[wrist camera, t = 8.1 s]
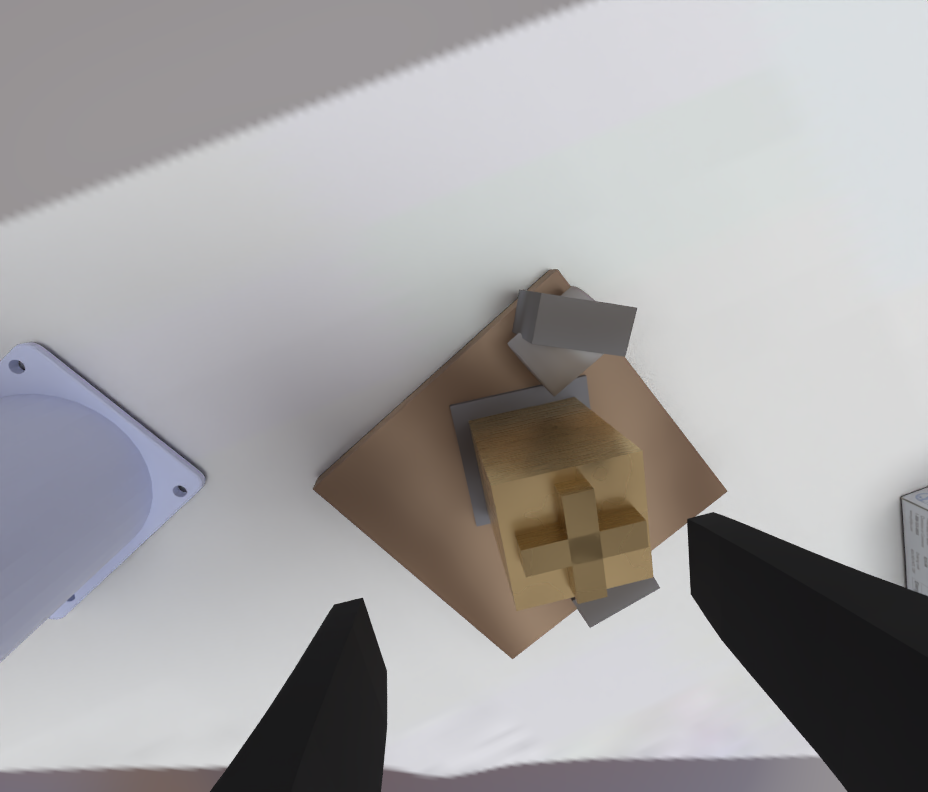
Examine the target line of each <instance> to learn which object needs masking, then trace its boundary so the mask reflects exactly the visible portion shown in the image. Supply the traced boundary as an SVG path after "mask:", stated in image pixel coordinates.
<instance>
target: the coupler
mask: <svg viewBox="0 0 928 792" xmlns="http://www.w3.org/2000/svg"><path fill="white" fill-rule="evenodd" d="M469 426H470V430H471V435H472V440H473V445H474V449H475V454H476V459H477V463H478V468H479V473H480V478H481V482H482V487H483V492H484V497H485V501H486V506H487V511H488V515H489V519H490V522H491V526H492V529H493V532H494V536H495V539H496V543H497V546H498V549H499V553H500V556H501V560H502V563H503V567H504V570H505V573H506V577H507V580H508V584H509V587H510V590H511V594H512V597H513V601H514V604H515V608H516V611H520V610H524V609H528V608H532V607H536V606H540V605H544V604H548V603H552V602H556V601H560V600H564V599H568V598H572V597H575V599H576V601H577V603H578V604H581V603H585V602H589V601H593V600H597V599H601V598H605V597H608V595H607V589H609V588H613V587H617V586H621V585H625V584H629V583H633V582H637V581H641V580H645V579H649V578H653V568H652V556H651V544H650V532H649V521H648V509H647V497H646V485H645V474H644V462H643V451H642V450H641V449H640V448H639V447H637V446H636V445H635V444H634V443H632V442H631V441H630V440H629V439H627V438H626V437H625V436H623V435H622V434H621V433H620V432H618V431H617V430H616V429H615V428H613V427H612V426H611V425H609V424H608V423H607V422H606V421H604V420H603V419H602V418H601V417H599V416H598V415H597V414H596V413H594V412H593V411H592V410H590V409H589V408H588V407H587V406H585V405H584V404H583V403H582V402H580V401H579V400H578V399H577V398H575V397H571V398H567V399H562V400H558V401H554V402H549V403H545V404H540V405H536V406H532V407H527V408H523V409H518V410H514V411H510V412H505V413H501V414H496V415H492V416H488V417H483V418H479V419H474V420H470V421H469Z"/></svg>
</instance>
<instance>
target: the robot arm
mask: <svg viewBox="0 0 928 792" xmlns="http://www.w3.org/2000/svg"><path fill="white" fill-rule="evenodd" d="M19 361H21V362H22V363H23V364H24V366H25V371H24V370H22V369H21V368H20V367H19V364H18V362H19ZM204 484H205V477H204V475H203V474H202V473H201V472H200V471H199V470H198V469H197V468H195V467H194V466H193V465H192V464H190V463H189V462H188V461H187V460H185V459H184V458H183V457H181V456H180V455H179V454H178V453H176V452H175V451H174V450H173V449H171V448H170V447H169V446H168V445H166V444H165V443H164V442H163V441H161V440H160V439H159V438H157V437H156V436H155V435H154V434H152V433H151V432H150V431H149V430H147V429H146V428H145V427H144V426H142V425H141V424H140V423H139V422H137V421H136V420H135V419H133V418H132V417H131V416H130V415H128V414H127V413H126V412H125V411H123V410H122V409H121V408H120V407H118V406H117V405H116V404H114V403H113V402H112V401H111V400H109V399H108V398H107V397H106V396H104V395H103V394H102V393H101V392H99V391H98V390H97V389H96V388H94V387H93V386H92V385H90V384H89V383H88V382H87V381H85V380H84V379H83V378H82V377H80V376H79V375H78V374H77V373H75V372H74V371H73V370H72V369H70V368H69V367H68V366H66V365H65V364H64V363H63V362H61V361H60V360H59V359H58V358H56V357H55V356H54V355H53V354H51V353H50V352H49V351H48V350H46V349H45V348H44V347H42V346H41V345H39V344H37V343H32V342H29V343H23V344H18V345H16V346H15V347H13V348H12V349H11V351H10V352H9V353H8V354H7V355H6V356H5V357H4V358H3V359H2V360H1V361H0V663H1V662H2V661H3V660H4V659H5V658H6V657H7V656H8V655H9V654H10V653H11V652H12V651H13V650H14V649H16V648H17V647H18V646H19V645H20V644H21V643H22V642H23V641H24V640H25V639H26V638H27V637H28V636H29V635H31V634H32V633H33V632H34V631H35V630H36V629H37V628H38V627H39V626H40V625H41V624H42V623H43V622H44V621H46V620H47V619H48V618H50V619H61V618H63V617H64V616H66V615H67V614H68V613H69V612H70V611H71V610H72V609H73V608H74V607H75V606H76V605H77V604H78V603H79V602H81V601H82V600H83V599H84V598H85V597H86V596H87V595H88V594H89V593H90V592H91V591H92V590H93V589H94V588H96V587H97V586H98V585H99V584H100V583H101V582H102V581H103V580H104V579H105V578H106V577H107V576H108V575H109V574H111V573H112V572H113V571H114V570H115V569H116V568H117V567H118V566H119V565H120V564H121V563H122V562H123V561H124V560H126V559H127V558H128V557H129V556H130V555H131V554H132V553H133V552H134V551H135V550H136V549H137V548H138V547H139V546H141V545H142V544H143V543H144V542H145V541H146V540H147V539H148V538H149V537H150V536H151V535H152V534H153V533H154V532H156V531H157V530H158V529H159V528H160V527H161V526H162V525H163V524H164V523H165V522H166V521H167V520H168V519H169V518H171V517H172V516H173V515H174V514H175V513H176V512H177V511H178V510H179V509H180V508H181V507H182V506H183V505H184V504H185V503H187V502H188V501H189V500H190V499H191V498H192V497H193V496H194V495H195V494H196V493H197V492H198V491H199V490H200V489H201V488H202V487H203V486H204ZM178 486H183V487H185V489H186V490H187V492H182V491H180V490H179V488H178ZM687 526H688V546H689V567H690V587H691V595H692V597H693V598H694V600H695V601H696V603H697V604H698V606H699V607H700V609H701V610H702V612H703V613H704V615H705V617H706V618H707V620H708V621H709V622H710V624H711V625H712V627H713V628H714V630H715V631H716V633H717V634H718V635H719V637H720V638H721V640H722V641H723V642H724V643H725V645H726V646H727V647H728V648H729V649H730V651H731V652H732V653H733V654H734V655H735V657H736V658H737V659H738V660H739V661H740V663H741V664H742V665H743V666H744V667H745V669H746V670H747V671H748V672H749V673H750V675H751V676H752V677H753V678H754V679H755V680H756V682H757V683H758V684H759V685H760V686H761V688H762V689H763V690H764V691H765V692H766V693H767V695H768V696H769V697H770V698H771V699H772V700H773V702H774V703H775V704H776V705H777V706H778V708H779V709H780V710H781V711H782V712H783V713H784V715H785V716H786V717H787V718H788V719H789V720H790V722H791V723H792V724H793V725H794V726H795V728H796V729H797V730H798V731H799V732H800V733H801V735H802V736H803V737H804V738H805V739H806V740H807V742H808V743H809V744H810V745H811V746H812V748H813V749H814V750H815V751H816V752H817V753H818V755H819V756H820V757H821V758H822V760H823V761H824V762H825V763H826V764H827V766H828V767H829V768H830V770H831V771H832V772H833V773H834V775H835V776H836V777H837V778H838V780H839V781H840V782H841V783H842V785H843V786H844V787H845V789H846V790H847V792H928V596H927V595H924V594H921V593H918V592H915V591H913V590H910V589H907V588H904V587H902V586H899V585H896V584H893V583H891V582H888V581H885V580H882V579H880V578H877V577H874V576H872V575H869V574H866V573H864V572H861V571H858V570H856V569H853V568H851V567H848V566H845V565H843V564H840V563H838V562H835V561H833V560H830V559H828V558H825V557H823V556H820V555H818V554H815V553H813V552H811V551H808V550H806V549H803V548H801V547H798V546H796V545H794V544H791V543H789V542H786V541H784V540H782V539H779V538H777V537H774V536H772V535H770V534H767V533H765V532H762V531H760V530H758V529H755V528H753V527H750V526H748V525H745V524H743V523H741V522H738V521H736V520H733V519H730V518H728V517H725V516H723V515H720V514H717V513H714V512H713V513H709V514H705V515H700V516H696V517H692V518H688V519H687ZM386 732H387V670H386V667H385V664H384V661H383V658H382V655H381V652H380V649H379V646H378V643H377V640H376V636H375V633H374V630H373V627H372V624H371V621H370V618H369V615H368V612H367V609H366V606H365V603H364V600H363V598H360V599H355V600H351V601H347V602H343V603H339V604H335V605H334V606H333V607H332V609H331V610H330V612H329V614H328V615H327V617H326V618H325V620H324V621H323V623H322V625H321V626H320V628H319V630H318V631H317V633H316V635H315V636H314V638H313V639H312V641H311V643H310V644H309V646H308V648H307V649H306V651H305V652H304V654H303V656H302V657H301V659H300V661H299V662H298V664H297V665H296V667H295V669H294V670H293V672H292V673H291V675H290V676H289V678H288V679H287V681H286V683H285V684H284V686H283V687H282V689H281V690H280V692H279V693H278V695H277V697H276V698H275V700H274V701H273V703H272V704H271V706H270V707H269V709H268V710H267V712H266V713H265V715H264V716H263V718H262V719H261V721H260V722H259V724H258V725H257V726H256V728H255V729H254V731H253V732H252V734H251V735H250V736H249V738H248V739H247V741H246V742H245V744H244V745H243V747H242V748H241V749H240V751H239V752H238V754H237V755H236V757H235V758H234V759H233V761H232V762H231V764H230V765H229V766H228V768H227V769H226V771H225V772H224V773H223V775H222V776H221V777H220V779H219V780H218V781H217V783H216V784H215V785H214V787H213V788H212V790H211V791H210V792H381V785H382V775H383V765H384V754H385V744H386Z"/></svg>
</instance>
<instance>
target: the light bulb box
mask: <svg viewBox="0 0 928 792" xmlns="http://www.w3.org/2000/svg"><path fill="white" fill-rule="evenodd" d="M901 500H902V508H903V524H904V539H905V554H906V573H907V589H910V590H913V591H915V592H918V593H921V594H924V595H927V596H928V487H927V488H924V489H922V490H919V491H916V492H914V493H911V494H908V495H905V496H903V497H901Z"/></svg>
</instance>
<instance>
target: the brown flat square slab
mask: <svg viewBox="0 0 928 792" xmlns="http://www.w3.org/2000/svg"><path fill="white" fill-rule="evenodd" d="M636 311H637V308H635V307H629V306H622V305H616V304H610V303H603V302H597V301H595V300H594V299H592V298H591V297H590V296H589V295H588V294H587V293H585V292H584V291H582V290H581V289H579V288H577V287H574V286H570V285H569V284H568V282H567V281H566V280H565V278H564V277H563V276H562V274H561V273H560V272H559V270H558V269H553V270H549V271H548V272H547V273H545V274H544V275H543V276H542V277H541V278H540V279H539V280H538V281H537V282H535V283H534V284H533V285H532V286H531V287H530V288H529V289H528V290H527V291H526V290H519V295H518V299H516V300H515V301H514V302H513V303H512V304H511V305H510V306H509V307H508V308H506V309H505V310H504V311H503V312H502V313H501V314H500V315H499V316H498V317H496V318H495V319H494V320H493V321H492V322H491V323H490V324H489V325H488V326H486V327H485V328H484V329H483V330H482V331H481V332H480V333H479V334H478V335H476V336H475V337H474V338H473V339H472V340H471V341H470V342H469V343H468V344H466V345H465V346H464V347H463V348H462V349H461V350H460V351H459V352H458V353H456V354H455V355H454V356H453V357H452V358H451V359H450V360H449V361H448V362H446V363H445V364H444V365H443V366H442V367H441V368H440V369H439V370H437V371H436V372H435V373H434V374H433V375H432V376H431V377H430V378H429V379H427V380H426V381H425V382H424V383H423V384H422V385H421V386H420V387H419V388H417V389H416V390H415V391H414V392H413V393H412V394H411V395H410V396H409V397H407V398H406V399H405V400H404V401H403V402H402V403H401V404H400V405H399V406H397V407H396V408H395V409H394V410H393V411H392V412H391V413H390V414H389V415H387V416H386V417H385V418H384V419H383V420H382V421H381V422H380V423H379V424H377V425H376V426H375V427H374V428H373V429H372V430H371V431H370V432H369V433H367V434H366V435H365V436H364V437H363V438H362V439H361V440H360V441H358V442H357V443H356V444H355V445H354V446H353V447H352V448H351V449H350V450H348V451H347V452H346V453H345V454H344V455H343V456H342V457H341V458H340V459H338V460H337V461H336V462H335V463H334V464H333V465H332V466H331V467H330V468H328V469H327V470H326V471H325V472H324V473H323V474H322V475H321V476H320V477H318V479H317V481H316V483H315V485H314V487H313V490H314V491H316V492H317V493H318V494H319V495H320V496H321V497H323V498H324V499H325V500H326V501H327V502H329V503H330V504H331V505H332V506H333V507H334V508H336V509H337V510H338V511H339V512H340V513H341V514H343V515H344V516H345V517H346V518H347V519H348V520H350V521H351V522H352V523H353V524H354V525H356V526H357V527H358V528H359V529H360V530H361V531H363V532H364V533H365V534H366V535H367V536H368V537H370V538H371V539H372V540H373V541H374V542H375V543H377V544H378V545H379V546H380V547H381V548H383V549H384V550H385V551H386V552H387V553H388V554H390V555H391V556H392V557H393V558H394V559H395V560H397V561H398V562H399V563H400V564H401V565H403V566H404V567H405V568H406V569H407V570H408V571H410V572H411V573H412V574H413V575H414V576H415V577H417V578H418V579H419V580H420V581H421V582H422V583H424V584H425V585H426V586H427V587H428V588H430V589H431V590H432V591H433V592H434V593H435V594H437V595H438V596H439V597H440V598H441V599H442V600H444V601H445V602H446V603H447V604H448V605H449V606H451V607H452V608H453V609H454V610H455V611H457V612H458V613H459V614H460V615H461V616H462V617H464V618H465V619H466V620H467V621H468V622H469V623H471V624H472V625H473V626H474V627H475V628H477V629H478V630H479V631H480V632H481V633H482V634H484V635H485V636H486V637H487V638H488V639H489V640H491V641H492V642H493V643H494V644H495V645H496V646H498V647H499V648H500V649H501V650H502V651H504V652H505V653H506V654H507V655H508V656H509V657H511V658H512V659H513V658H515V657H516V656H517V655H518V654H520V653H521V652H522V651H524V650H525V649H526V648H527V647H529V646H530V645H531V644H533V643H534V642H535V641H536V640H538V639H539V638H540V637H542V636H543V635H544V634H545V633H547V632H548V631H549V630H551V629H552V628H553V627H554V626H556V625H557V624H558V623H559V622H561V621H562V620H563V619H565V618H566V617H567V616H568V615H570V614H571V613H572V612H574V611H575V610H576V609H578V611H579V612H580V614H581V615H582V617H583V618H584V620H585V621H586V623H587V624H588V626H589V627H590V628H591V627H592V626H594V625H596V624H598V623H599V622H601V621H603V620H605V619H606V618H608V617H610V616H612V615H613V614H615V613H617V612H619V611H620V610H622V609H624V608H626V607H627V606H629V605H631V604H633V603H634V602H636V601H638V600H640V599H641V598H643V597H645V596H647V595H648V594H650V593H652V592H654V591H655V590H657V589H659V588H660V587H659V585H658V584H657V582H656V580H655V578H654V577H653V578H649V579H645V580H641V581H637V582H633V583H629V584H625V585H621V586H617V587H613V588H609V589H607V595H608V597H605V598H601V599H597V600H593V601H589V602H585V603H581V604H578V603H577V601H576V599H575V597H572V598H568V599H564V600H560V601H556V602H552V603H548V604H544V605H540V606H536V607H532V608H528V609H524V610H520V611H516V608H515V604H514V601H513V597H512V594H511V590H510V587H509V584H508V580H507V577H506V573H505V570H504V567H503V563H502V560H501V556H500V553H499V549H498V546H497V543H496V539H495V536H494V532H493V529H492V526H491V522H490V519H489V515H488V511H487V506H486V501H485V497H484V492H483V487H482V482H481V478H480V473H479V468H478V463H477V459H476V454H475V449H474V445H473V440H472V435H471V430H470V426H469V421H470V420H474V419H479V418H483V417H488V416H492V415H496V414H501V413H505V412H510V411H514V410H518V409H523V408H527V407H532V406H536V405H540V404H545V403H549V402H554V401H558V400H562V399H567V398H571V397H575V398H577V399H578V400H579V401H580V402H582V403H583V404H584V405H585V406H587V407H588V408H589V409H590V410H592V411H593V412H594V413H596V414H597V415H598V416H599V417H601V418H602V419H603V420H604V421H606V422H607V423H608V424H609V425H611V426H612V427H613V428H615V429H616V430H617V431H618V432H620V433H621V434H622V435H623V436H625V437H626V438H627V439H629V440H630V441H631V442H632V443H634V444H635V445H636V446H637V447H639V448H640V449H641V450H642V451H643V462H644V474H645V485H646V497H647V509H648V521H649V532H650V544H651V551H652V550H653V549H654V548H656V547H657V546H658V545H659V544H661V543H662V542H663V541H665V540H666V539H667V538H668V537H670V536H671V535H672V534H674V533H675V532H676V531H677V530H679V529H680V528H681V527H682V526H684V525H685V524H686V523H687V519H688V518H692V517H695V516H697V515H698V514H699V513H700V512H702V511H703V510H704V509H706V508H707V507H708V506H709V505H711V504H712V503H713V502H714V501H716V500H717V499H718V498H720V497H721V496H722V495H723V494H725V493H726V492H727V490H726V489H725V487H724V486H723V485H722V483H721V482H720V481H719V480H718V478H717V477H716V476H715V474H714V473H713V472H712V470H711V469H710V468H709V466H708V465H707V464H706V463H705V461H704V460H703V459H702V457H701V456H700V455H699V453H698V452H697V451H696V449H695V448H694V447H693V446H692V444H691V443H690V442H689V440H688V439H687V438H686V436H685V435H684V434H683V432H682V431H681V430H680V429H679V427H678V426H677V425H676V423H675V422H674V421H673V419H672V418H671V417H670V416H669V414H668V413H667V412H666V410H665V409H664V408H663V406H662V405H661V404H660V402H659V401H658V400H657V399H656V397H655V396H654V395H653V393H652V392H651V391H650V389H649V388H648V387H647V385H646V384H645V383H644V382H643V380H642V379H641V378H640V376H639V375H638V374H637V372H636V371H635V370H634V368H633V367H632V366H631V365H630V363H629V362H628V361H627V359H626V358H625V355H626V351H627V347H628V343H629V339H630V335H631V331H632V327H633V323H634V319H635V315H636Z"/></svg>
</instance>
